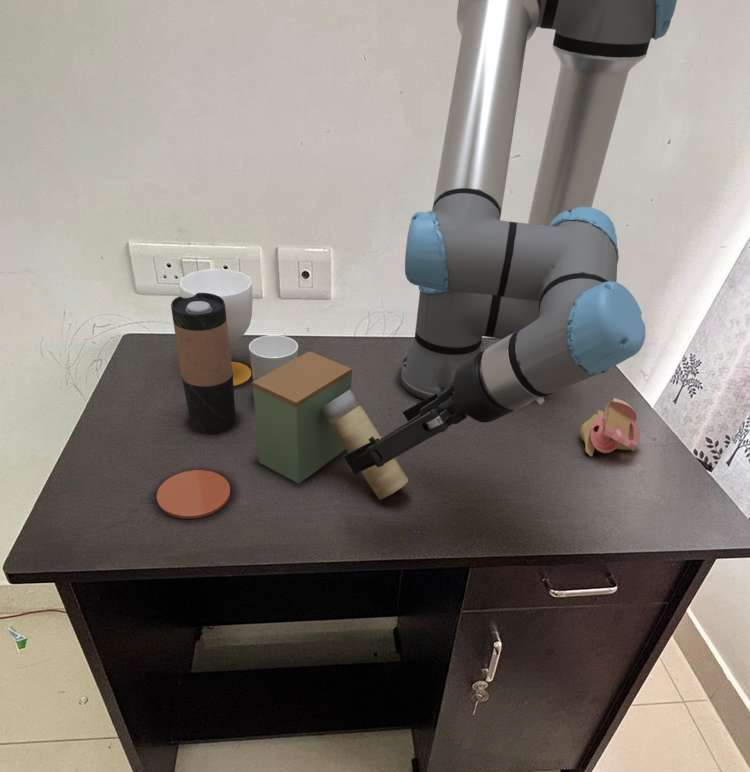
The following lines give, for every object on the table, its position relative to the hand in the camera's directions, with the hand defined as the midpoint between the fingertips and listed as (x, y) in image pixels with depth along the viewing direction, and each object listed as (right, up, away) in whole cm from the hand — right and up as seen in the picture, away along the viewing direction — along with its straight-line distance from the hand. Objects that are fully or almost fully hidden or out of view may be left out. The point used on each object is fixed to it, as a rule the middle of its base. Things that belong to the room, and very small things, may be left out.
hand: (381, 440), depth 86 cm
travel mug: (-27, +5, +17) cm, 32 cm away
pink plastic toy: (+37, 0, +17) cm, 41 cm away
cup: (-28, +15, +29) cm, 42 cm away
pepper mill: (-3, -6, +7) cm, 9 cm away
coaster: (-26, -7, +3) cm, 27 cm away
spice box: (-12, -1, +12) cm, 16 cm away
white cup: (-18, +9, +23) cm, 31 cm away
